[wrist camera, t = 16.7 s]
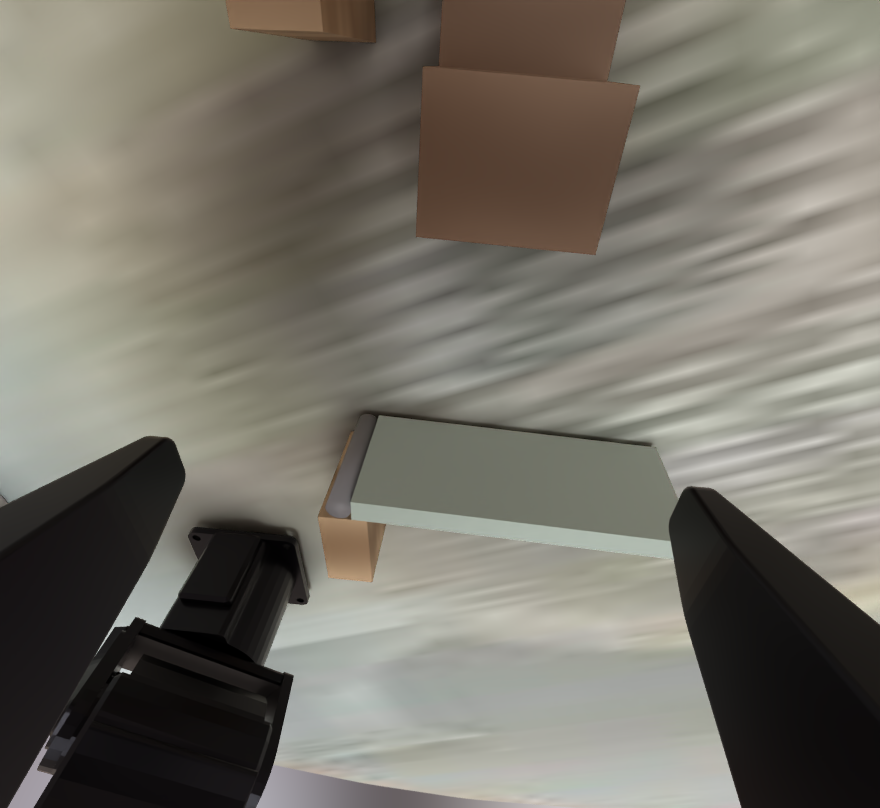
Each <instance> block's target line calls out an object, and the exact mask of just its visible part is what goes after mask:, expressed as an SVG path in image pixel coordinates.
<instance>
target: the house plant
mask: <svg viewBox="0 0 880 808" xmlns="http://www.w3.org/2000/svg"><path fill="white" fill-rule="evenodd" d="M6 504H8V503H7V502H6V501H5V499H4V498H3V497H2V496H1V495H0V507H2V506H4V505H6Z"/></svg>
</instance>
